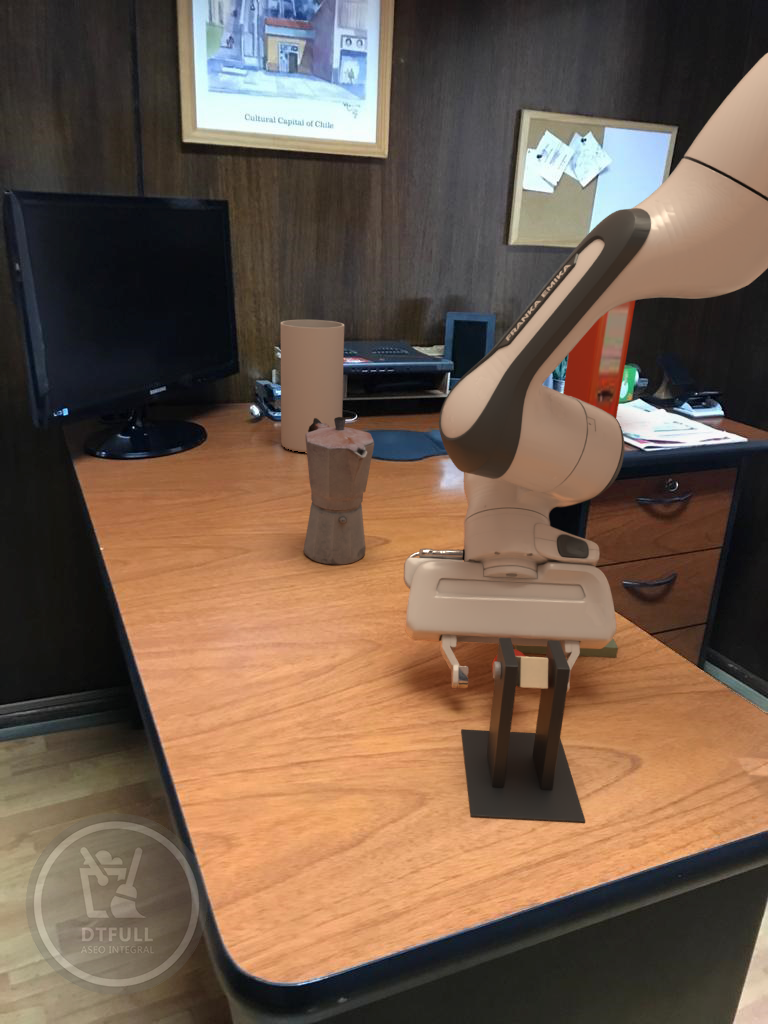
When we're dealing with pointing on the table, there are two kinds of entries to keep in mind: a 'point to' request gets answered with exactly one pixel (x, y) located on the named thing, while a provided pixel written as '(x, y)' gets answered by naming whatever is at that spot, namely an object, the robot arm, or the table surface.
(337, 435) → the moka pot
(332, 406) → the cylinder vase
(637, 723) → the table surface
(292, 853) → the table surface
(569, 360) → the file binder
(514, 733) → the switch base
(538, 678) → the lever
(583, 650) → the block
